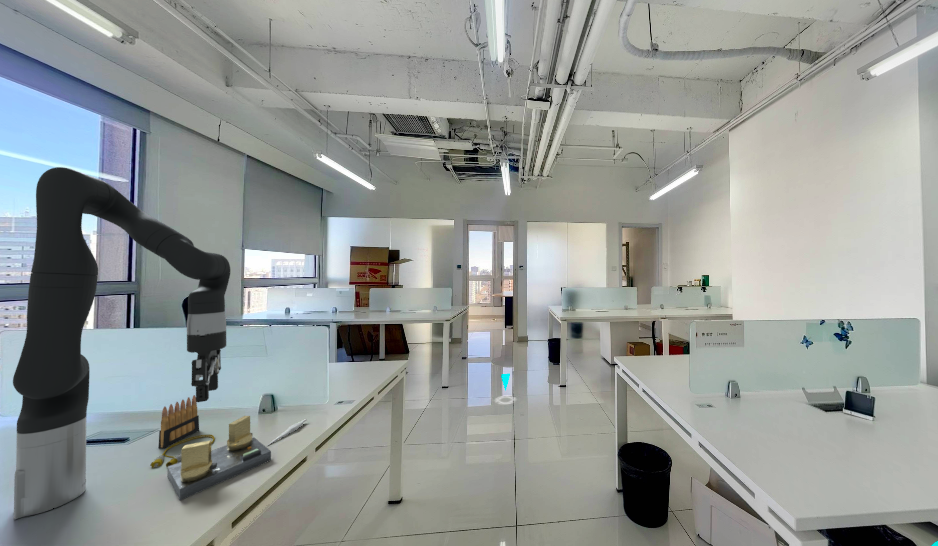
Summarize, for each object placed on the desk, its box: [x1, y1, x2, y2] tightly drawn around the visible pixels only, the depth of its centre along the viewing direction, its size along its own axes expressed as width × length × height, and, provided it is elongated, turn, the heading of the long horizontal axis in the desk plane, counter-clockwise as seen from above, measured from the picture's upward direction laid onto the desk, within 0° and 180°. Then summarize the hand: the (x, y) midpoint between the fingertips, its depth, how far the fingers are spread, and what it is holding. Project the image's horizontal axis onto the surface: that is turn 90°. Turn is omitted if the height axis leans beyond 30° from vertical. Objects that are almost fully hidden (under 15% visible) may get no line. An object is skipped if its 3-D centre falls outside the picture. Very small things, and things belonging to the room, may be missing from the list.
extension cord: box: [149, 434, 216, 469], centre depth 86 cm, size 12×16×2 cm
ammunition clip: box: [158, 394, 200, 449], centre depth 93 cm, size 11×2×12 cm, turn 176°
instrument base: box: [167, 435, 272, 501], centre depth 78 cm, size 18×14×4 cm
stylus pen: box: [266, 418, 308, 447], centre depth 95 cm, size 15×3×2 cm, turn 166°
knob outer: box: [226, 415, 253, 451], centre depth 84 cm, size 6×6×7 cm
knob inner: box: [180, 439, 217, 482], centre depth 72 cm, size 6×6×7 cm
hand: (207, 395), depth 75 cm, fingers open, 8 cm apart
